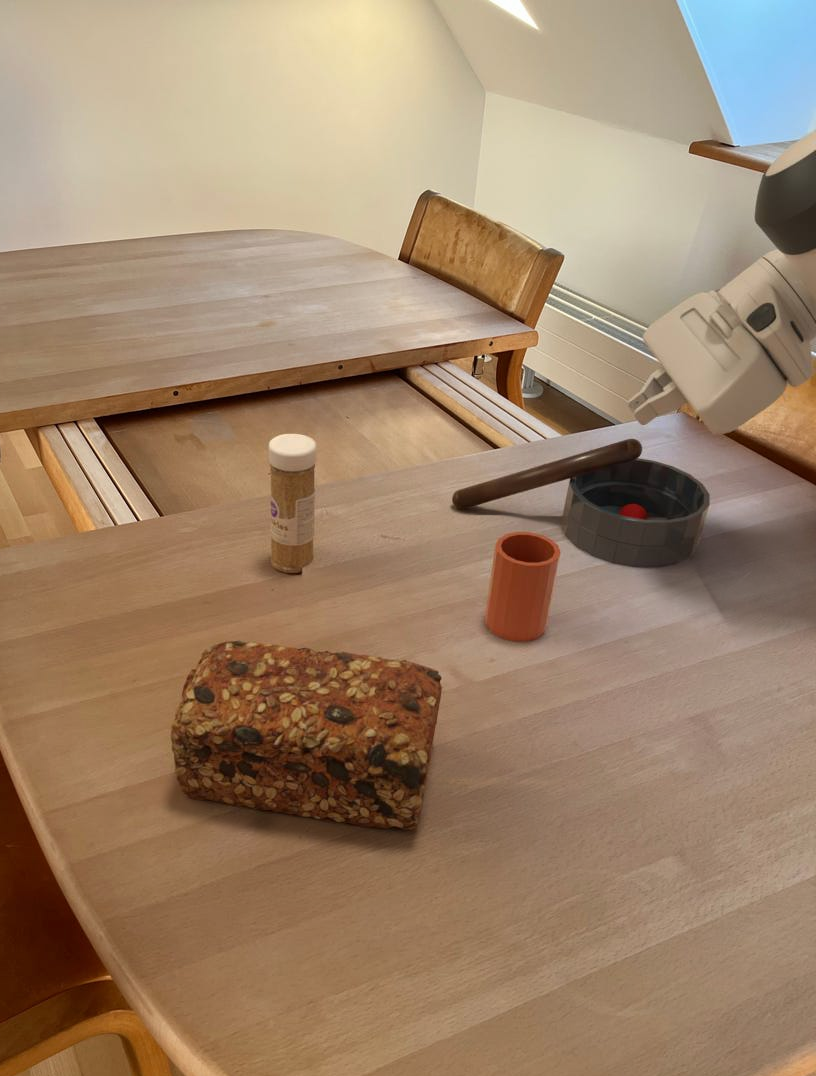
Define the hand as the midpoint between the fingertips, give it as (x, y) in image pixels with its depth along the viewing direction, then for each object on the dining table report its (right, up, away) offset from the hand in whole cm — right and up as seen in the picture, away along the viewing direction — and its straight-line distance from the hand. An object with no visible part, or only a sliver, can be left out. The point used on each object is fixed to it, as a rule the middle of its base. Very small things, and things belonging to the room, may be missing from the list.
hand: (633, 414), depth 95 cm
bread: (-31, -33, -20) cm, 50 cm away
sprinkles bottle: (-34, -15, +4) cm, 37 cm away
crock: (-13, -21, -5) cm, 25 cm away
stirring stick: (+2, -3, +3) cm, 4 cm away
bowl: (+2, -11, +9) cm, 15 cm away
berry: (+2, -9, +8) cm, 13 cm away
